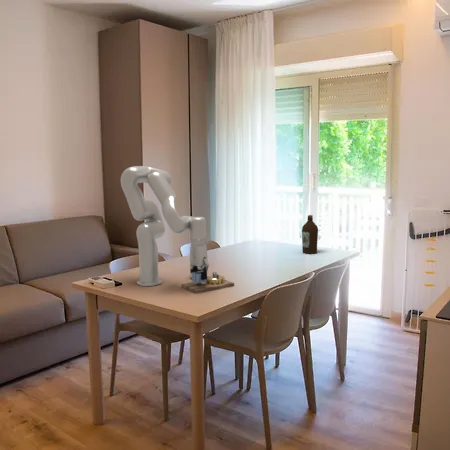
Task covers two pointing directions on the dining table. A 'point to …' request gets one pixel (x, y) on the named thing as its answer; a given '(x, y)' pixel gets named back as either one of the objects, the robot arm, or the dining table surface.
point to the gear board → (205, 286)
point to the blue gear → (197, 277)
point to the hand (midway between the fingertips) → (199, 277)
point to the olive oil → (309, 236)
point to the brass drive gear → (215, 279)
